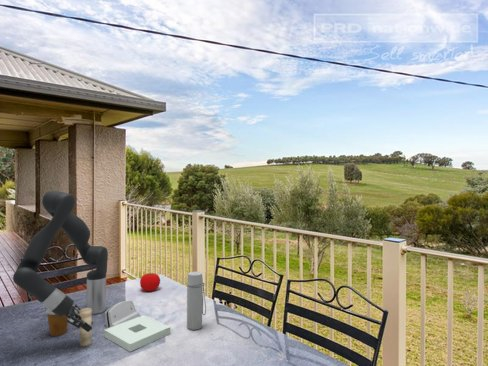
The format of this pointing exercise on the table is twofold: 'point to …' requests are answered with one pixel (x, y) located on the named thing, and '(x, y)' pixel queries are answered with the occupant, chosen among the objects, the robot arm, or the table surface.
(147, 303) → the table surface
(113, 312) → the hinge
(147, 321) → the collar block
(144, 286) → the tomato
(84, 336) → the birch pin
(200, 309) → the water bottle
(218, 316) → the table surface
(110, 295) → the table surface
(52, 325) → the disposable coffee cup
